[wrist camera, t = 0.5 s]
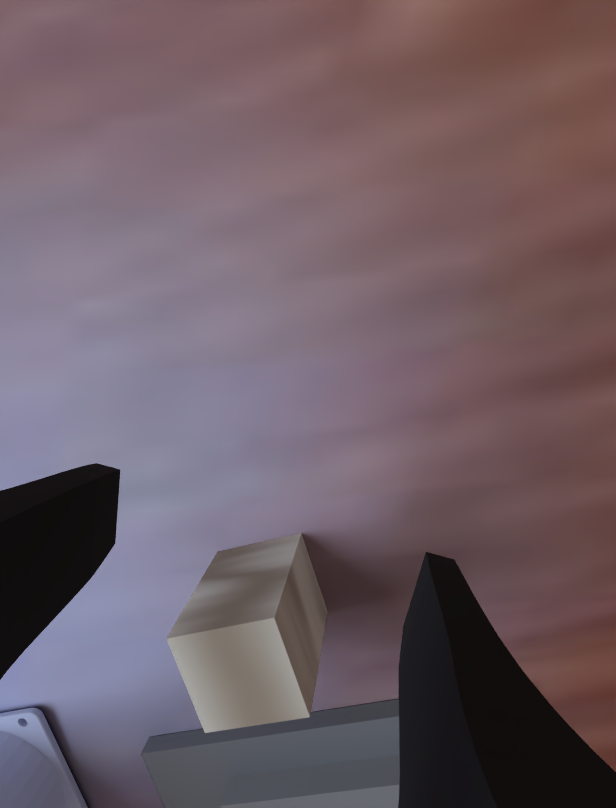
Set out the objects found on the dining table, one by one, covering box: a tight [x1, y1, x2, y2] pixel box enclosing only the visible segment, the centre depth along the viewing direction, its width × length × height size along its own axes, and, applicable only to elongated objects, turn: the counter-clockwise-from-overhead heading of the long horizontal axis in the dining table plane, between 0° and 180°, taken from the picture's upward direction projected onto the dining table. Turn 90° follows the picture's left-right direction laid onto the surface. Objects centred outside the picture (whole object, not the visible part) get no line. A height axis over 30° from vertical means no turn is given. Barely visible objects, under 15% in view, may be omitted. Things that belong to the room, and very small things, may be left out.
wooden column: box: [166, 533, 328, 733], centre depth 22 cm, size 4×4×6 cm
